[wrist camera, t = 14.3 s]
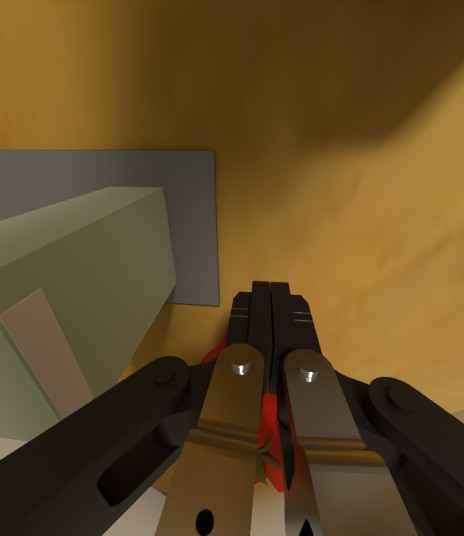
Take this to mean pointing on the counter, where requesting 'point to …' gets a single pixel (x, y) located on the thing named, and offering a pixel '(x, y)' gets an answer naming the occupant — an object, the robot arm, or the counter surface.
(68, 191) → the mat
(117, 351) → the slab
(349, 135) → the counter surface
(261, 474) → the tomato
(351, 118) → the counter surface
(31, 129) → the counter surface
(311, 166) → the counter surface
